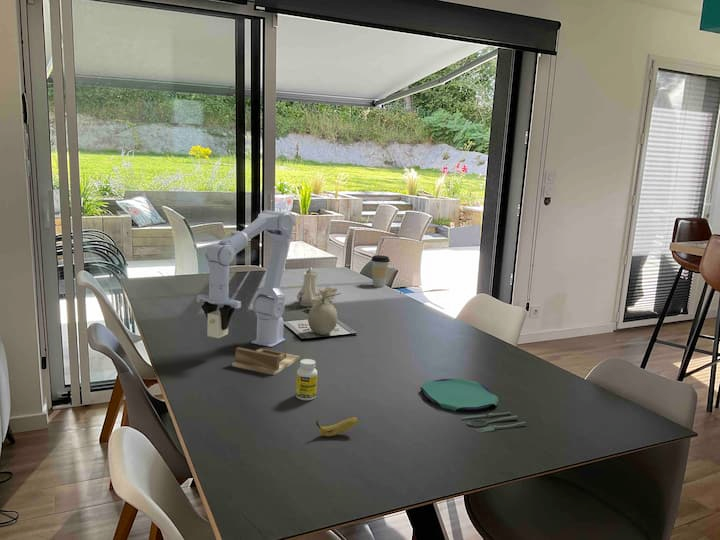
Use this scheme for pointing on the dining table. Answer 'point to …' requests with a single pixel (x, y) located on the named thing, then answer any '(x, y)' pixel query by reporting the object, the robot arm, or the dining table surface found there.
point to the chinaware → (313, 290)
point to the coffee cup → (379, 269)
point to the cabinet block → (215, 325)
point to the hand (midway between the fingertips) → (218, 327)
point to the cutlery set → (466, 400)
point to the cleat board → (263, 360)
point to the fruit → (322, 317)
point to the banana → (337, 427)
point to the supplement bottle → (306, 380)
